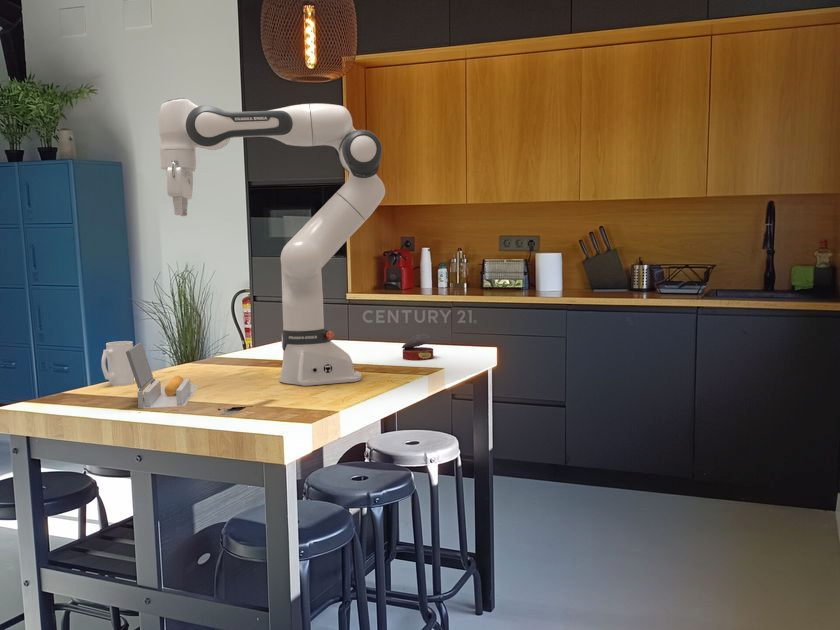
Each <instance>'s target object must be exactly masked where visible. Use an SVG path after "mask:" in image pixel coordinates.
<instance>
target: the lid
mask: <svg viewBox="0 0 840 630" xmlns="http://www.w3.org/2000/svg"><path fill="white" fill-rule="evenodd" d="M126 355H127V358H128V360H129V363H130V366H131V369H132V372H133V375H134V382H135V383H136V387H137V388H138V391H143V392H144V391H145V390H146V389H147V388H148V387H149V386H150V385H151V382H152V381H153V380H154V378H155V377H154V375H153V371H152V368H151V366H150V364H149V361H148V357H147V354H146V352H145V349H144V347H143V343H142V342H139V343H137V344H135V345H133V347H132V348H131V349H129V350H128V351H126Z"/></svg>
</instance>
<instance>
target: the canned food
mask: <svg viewBox="0 0 840 630" xmlns="http://www.w3.org/2000/svg"><path fill="white" fill-rule="evenodd" d="M431 339H432V337H431V336H430V335H429V334H427V333H419V334H416V335H414V336H412V337H410V338H409V340H407V341H406V342H405V343H404V344H403V345H402V347H401V349H402V360H404V361H410V362H411V361H413V362H415V361H416V362H417V361H418V362H419V361H420V362H421V361H429V360H433V359H434V348H432V347H424V346H423V345H426V344H428V343H429V342H430V341H431ZM420 346H421V347H420Z"/></svg>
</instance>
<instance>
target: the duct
mask: <svg viewBox="0 0 840 630" xmlns="http://www.w3.org/2000/svg"><path fill="white" fill-rule="evenodd" d="M153 378H154V380H153V381H152V382H151V383H150V384H149V385H148V386H147V387H146V388H145V389H144V390H143V391H139V390H138V391H137V393H136V394H137V409H140V410H141V409H155V408H156V409H158V408H159V409H160V408H174V407H175V408H177V407H179V408H180V407H186V405H188V402H189V401H190V400H191V398H192V396H193V395H194V393H196V390H197V388H198V387H199V384H192V385H191V378H184V379H183V380H184V381H183V382H182V384H181V385H180V386H179V387H178V389H177V390H176V394H175V395H174V396H167V395H166V394H165V387H166V386H167V385H166V386H162V385H161V380H160V379H156V378H155V377H153ZM170 411H171V412H174V411H178V409H176V410H175V409H173V410H170ZM154 412H156V413H157V412H159V410H158V411H153V410H152V411H151V413H154ZM139 413H140V411H139V412H138V414H139Z"/></svg>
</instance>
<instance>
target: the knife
mask: <svg viewBox="0 0 840 630" xmlns="http://www.w3.org/2000/svg"><path fill="white" fill-rule="evenodd" d="M248 407H249V408H250V407H253V405H252V406H251V405H250V406H234V407H231V408H229V409H227V410H225V411H224V412H222V413H220V414H219V416H230V415H233V414H236V413H238V412H241V411H242V410H244V409H245V408H248Z"/></svg>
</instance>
